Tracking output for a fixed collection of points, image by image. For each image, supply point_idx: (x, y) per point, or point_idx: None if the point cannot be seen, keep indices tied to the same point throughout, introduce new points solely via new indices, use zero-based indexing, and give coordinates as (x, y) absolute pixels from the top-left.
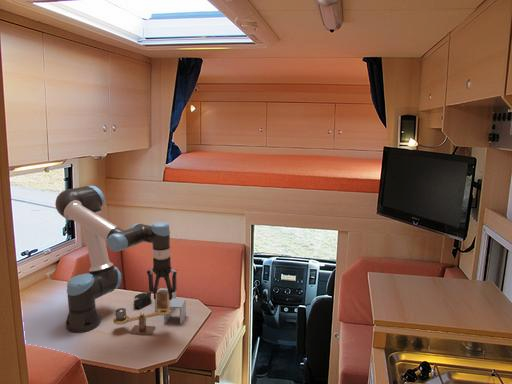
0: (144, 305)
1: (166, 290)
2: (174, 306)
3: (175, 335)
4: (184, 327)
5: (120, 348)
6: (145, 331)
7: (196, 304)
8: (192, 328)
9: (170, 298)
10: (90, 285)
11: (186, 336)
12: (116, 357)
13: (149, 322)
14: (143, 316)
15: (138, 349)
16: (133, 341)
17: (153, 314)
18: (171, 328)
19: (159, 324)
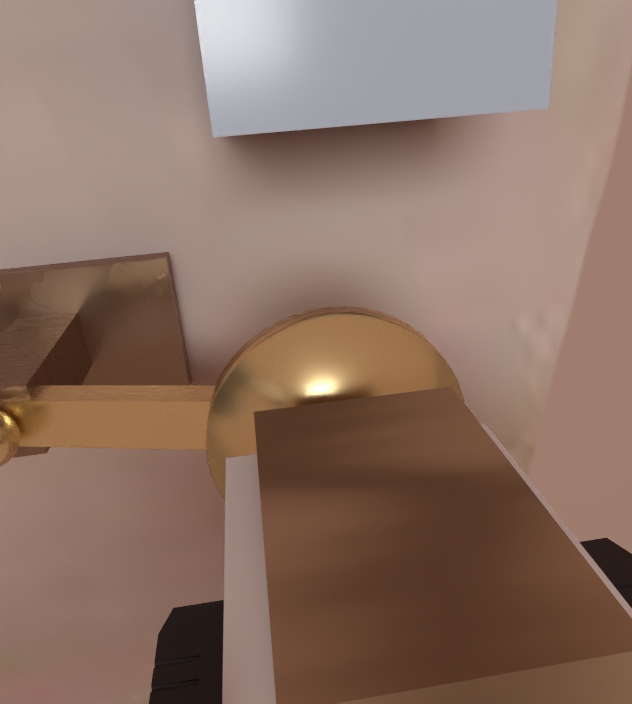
0: None
1: (556, 693)
2: (421, 107)
3: (426, 335)
4: (481, 168)
5: (39, 605)
6: (113, 378)
7: None
8: (569, 172)
9: None
10: None
11: (532, 329)
12: (87, 687)
13: (19, 132)
14: (30, 445)
15: (193, 581)
16: (82, 505)
17: (182, 447)
18: (346, 218)
19: (172, 157)
